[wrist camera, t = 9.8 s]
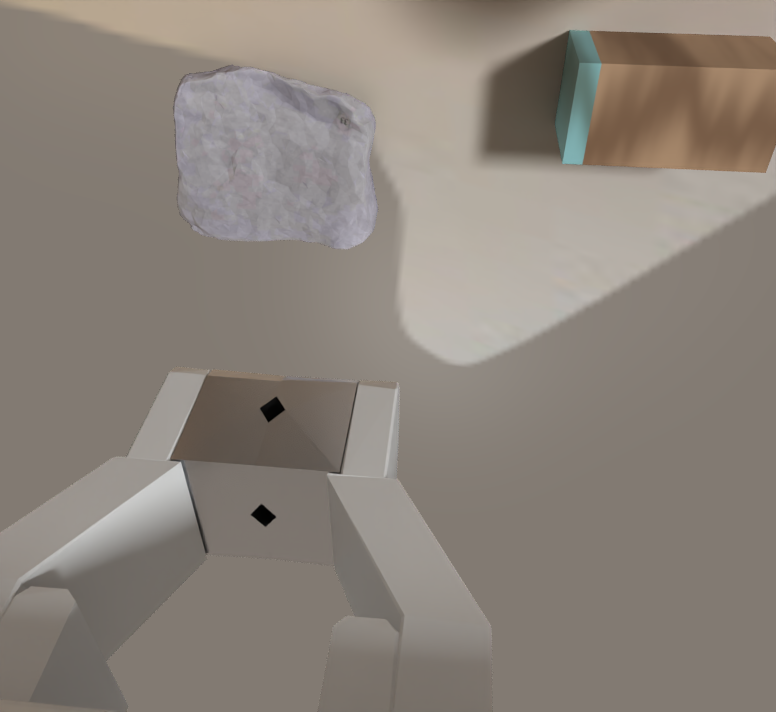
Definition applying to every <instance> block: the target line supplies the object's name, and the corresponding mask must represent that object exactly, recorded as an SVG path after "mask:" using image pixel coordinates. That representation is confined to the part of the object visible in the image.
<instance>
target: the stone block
mask: <svg viewBox="0 0 776 712" xmlns="http://www.w3.org/2000/svg"><path fill="white" fill-rule="evenodd" d="M173 110H174V121H175V146H176V157H177V165H178V170H179V177H178V194H177V203H178V208H179V213H180V215H181V216H182V218H183V219H184V220H185V221H187V222H188V223H189V224H190V225H191V228H192V229H193V230H194V231H196V232H198V233H199V234H201V235H204V236H208V237H213V238H216V239H220V240H232V241H272V240H300V241H304V242H317V243H320V244H323V245H326V246H328V247H331V248H334V249H349V248H352V247H354V246H356V245H359V244H361V243H362V242H363V241H365V239H366V238H367V237H368V236H369V235H370V234H371V233H372V232H373V230H374V227H375V222H376V216H377V212H378V206H377V199H376V195H375V189H374V184H373V176H372V173H371V169H370V164H369V156H370V153H371V148H372V144H373V139H374V133H375V128H376V122H375V118H374V115H373V114H372V112H371V109H370V108H369V106H367V105H366V104H365V103H364V102H361V101H359V100H357V99H356V98H354V97H352V96H351V95H349V94H347V93H341V92H338V91H334V90H330V89H328V88H322V87H318V86H314V85H309V84H307V83H305V82H302V81H299V80H296V79H288V78H285V77H282V76H280V75H277V74H275V73H273V72H269V71H264V70H260V69H256V68H253V67H239V66H234V65H230V66H226V67H223V68H220V69H217V70H214V71H210V72H202V73H195V74H192V73H189V74H187V75H185V76H184V77H183V78H182V79H181V82H180V84H179V86H178V88H177V92H176V95H175V100H174V106H173Z"/></svg>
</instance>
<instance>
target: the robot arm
mask: <svg viewBox="0 0 776 712" xmlns="http://www.w3.org/2000/svg"><path fill="white" fill-rule="evenodd" d="M399 397H400V389H399V384H398V383H397V382H386V381H368V380H361V381H359V380H343V379H327V378H311V377H310V378H309V377H294V376H279V375H267V374H257V373H246V372H235V371H225V370H205V369H195V368H185V367H175V368H174V369H173V370H172V371H171V372H169V373H168V374H167V376H166V378H165V380H164V382H163V384H162V386H161V388H160V390H159V392H158V394H157V396H156V398H155V400H154V402H153V404H152V406H151V408H150V410H149V412H148V414H147V416H146V418H145V420H144V422H143V424H142V426H141V428H140V430H139V432H138V434H137V436H136V438H135V440H134V442H133V444H132V446H131V447H130V449H129V452H128V454H127V455H126V457H113V458H111V459H110V460H108V461H107V462H106V463H104V464H102V465H101V466H99V467H98V468H96V469H95V470H94V471H92V472H90V473H89V474H87V475H86V476H84V477H83V478H82V479H80V480H78V481H77V482H76V483H74V484H72V485H71V486H69V487H68V488H66V489H65V490H63V491H62V492H60V493H59V494H57V495H56V496H54V497H53V498H51V499H50V500H48V501H47V502H45V503H44V504H42V505H41V506H39V507H38V508H37V509H35V510H34V511H32V512H31V513H29V514H28V515H26V516H25V517H23V518H22V519H20V520H19V521H17V522H16V523H14V524H13V525H11V526H10V527H8V528H7V529H5V530H4V531H2V532H1V533H0V712H127V709H128V704H127V702H126V700H125V698H124V696H123V694H122V692H121V690H120V688H119V686H118V684H117V682H116V680H115V678H114V676H113V674H112V672H111V670H110V668H109V666H108V664H107V662H106V661H107V660H108V659H109V658H110V657H111V656H112V655H113V654H114V653H115V652H116V651H117V650H118V649H119V648H120V646H122V645H123V643H125V642H126V641H127V640H128V639H129V637H130V636H132V635H133V634H134V632H135V631H136V630H137V629H138V628H139V627H140V626H141V625H142V624H143V623H144V622H145V621H146V620H147V619H148V618H149V617H150V616H151V615H152V614H153V613H154V612H155V611H156V610H157V609H158V608H159V607H160V606H161V605H162V604H163V603H164V602H165V601H166V600H167V599H168V598H169V597H170V596H171V595H172V594H173V593H174V592H175V591H176V590H177V589H178V588H179V587H180V586H181V585H182V584H183V583H184V582H185V581H186V580H187V579H188V577H190V576H191V575H192V574H193V573H194V572H195V571H196V569H198V567H199V566H200V565H201V564H202V563H203V562H204V561H205V560H206V559H207V556H206V555H216V556H233V557H248V558H264V559H276V560H285V561H294V562H302V563H310V564H319V565H328V566H334V568H335V572H336V574H337V576H338V579H339V581H340V583H341V586H342V588H343V590H344V592H345V595H346V597H347V600H348V602H349V604H350V607H351V609H352V611H353V614H354V616H346V617H344V618H343V619H342V620H340V621H339V622H338V623H337V624H335V625H334V626H333V631H332V636H331V641H330V647H329V652H328V658H327V663H326V668H325V674H324V679H323V684H322V690H321V696H320V700H319V706H318V711H317V712H492V629H491V628H492V627H491V625H490V624H489V622H488V620H487V619H486V617H485V616H484V614H483V613H482V611H481V609H480V608H479V606H478V605H477V603H476V602H475V600H474V598H473V597H472V595H471V594H470V592H469V590H468V589H467V587H466V586H465V584H464V582H463V581H462V579H461V578H460V576H459V575H458V573H457V571H456V570H455V568H454V567H453V565H452V564H451V562H450V560H449V559H448V557H447V556H446V554H445V552H444V551H443V549H442V548H441V546H440V545H439V543H438V541H437V540H436V538H435V537H434V535H433V534H432V532H431V530H430V529H429V527H428V526H427V524H426V522H425V521H424V519H423V518H422V516H421V515H420V513H419V511H418V510H417V508H416V507H415V505H414V504H413V502H412V500H411V499H410V497H409V496H408V494H407V492H406V491H405V489H404V488H403V486H402V485H401V483H400V481H399V480H398V479H397V461H398V436H399Z"/></svg>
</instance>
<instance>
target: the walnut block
mask: <svg viewBox="0 0 776 712" xmlns="http://www.w3.org/2000/svg"><path fill="white" fill-rule="evenodd" d="M555 128H556V133H557V138H558V143H559V148H560V154H561V159H562V164H583V165H605V166H627V167H649V168H671V169H694V170H716V171H738V172H760V173H766V170H767V167H768V165H769V162H770V159H771V157H772V154H773V151H774V148H775V146H776V42H775V41H774V40H773V39H772V38H771V37H763V36H732V35H700V34H669V33H638V32H606V31H575V30H570V31H569V37H568V43H567V50H566V56H565V63H564V69H563V75H562V82H561V88H560V94H559V101H558V107H557V113H556V120H555Z"/></svg>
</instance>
